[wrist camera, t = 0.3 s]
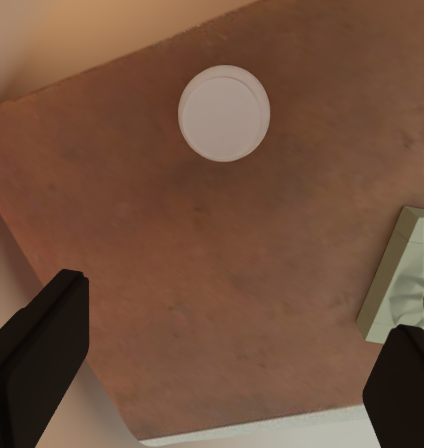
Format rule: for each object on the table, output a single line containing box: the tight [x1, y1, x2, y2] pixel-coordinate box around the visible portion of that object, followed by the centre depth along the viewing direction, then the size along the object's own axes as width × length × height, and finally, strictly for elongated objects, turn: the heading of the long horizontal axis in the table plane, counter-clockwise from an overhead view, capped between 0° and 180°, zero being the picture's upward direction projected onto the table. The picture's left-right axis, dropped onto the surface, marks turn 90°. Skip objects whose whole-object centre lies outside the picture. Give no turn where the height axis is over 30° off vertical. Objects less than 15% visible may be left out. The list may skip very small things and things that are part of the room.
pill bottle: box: [178, 65, 270, 162], centre depth 24 cm, size 6×6×11 cm
